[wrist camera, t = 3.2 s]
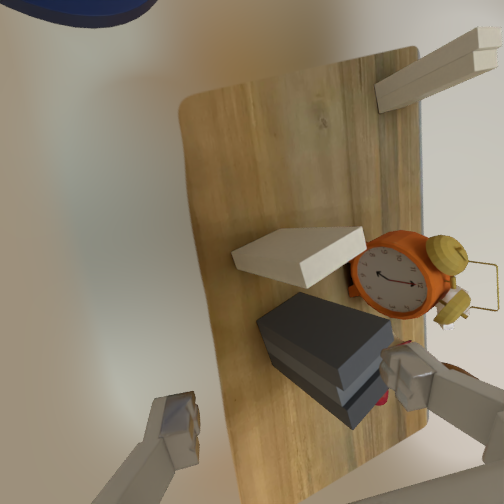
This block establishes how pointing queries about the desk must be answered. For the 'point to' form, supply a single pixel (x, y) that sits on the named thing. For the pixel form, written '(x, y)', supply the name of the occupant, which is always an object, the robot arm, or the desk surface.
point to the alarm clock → (412, 276)
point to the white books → (441, 69)
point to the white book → (300, 253)
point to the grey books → (329, 353)
